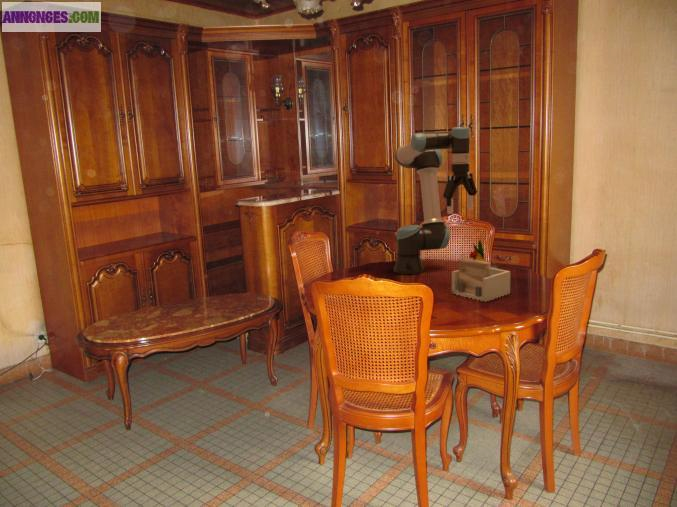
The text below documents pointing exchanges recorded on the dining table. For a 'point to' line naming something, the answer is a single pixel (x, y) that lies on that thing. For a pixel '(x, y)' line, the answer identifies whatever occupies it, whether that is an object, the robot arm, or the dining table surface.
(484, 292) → the cabinet
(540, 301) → the dining table surface
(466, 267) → the door
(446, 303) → the dining table surface
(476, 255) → the ornament
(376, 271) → the dining table surface
